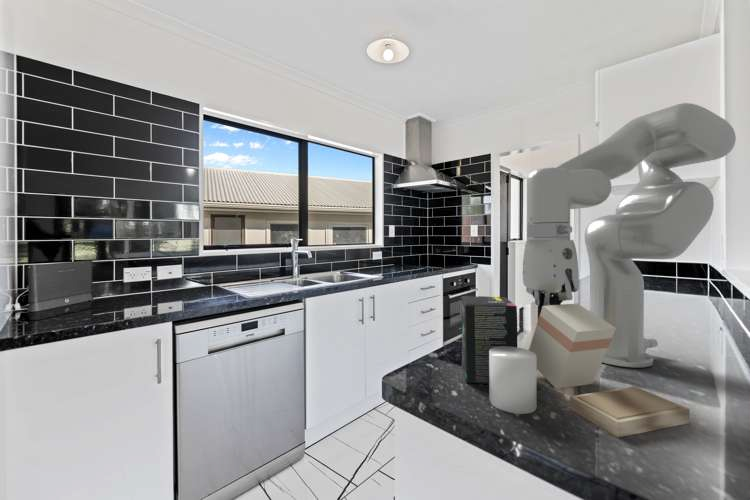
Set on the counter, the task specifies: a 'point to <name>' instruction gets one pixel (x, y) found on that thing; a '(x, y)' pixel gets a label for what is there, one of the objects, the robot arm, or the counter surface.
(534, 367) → the white pillar candle
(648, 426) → the podium
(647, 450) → the counter surface
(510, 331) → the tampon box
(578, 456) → the counter surface
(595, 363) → the cream carton
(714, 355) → the counter surface
